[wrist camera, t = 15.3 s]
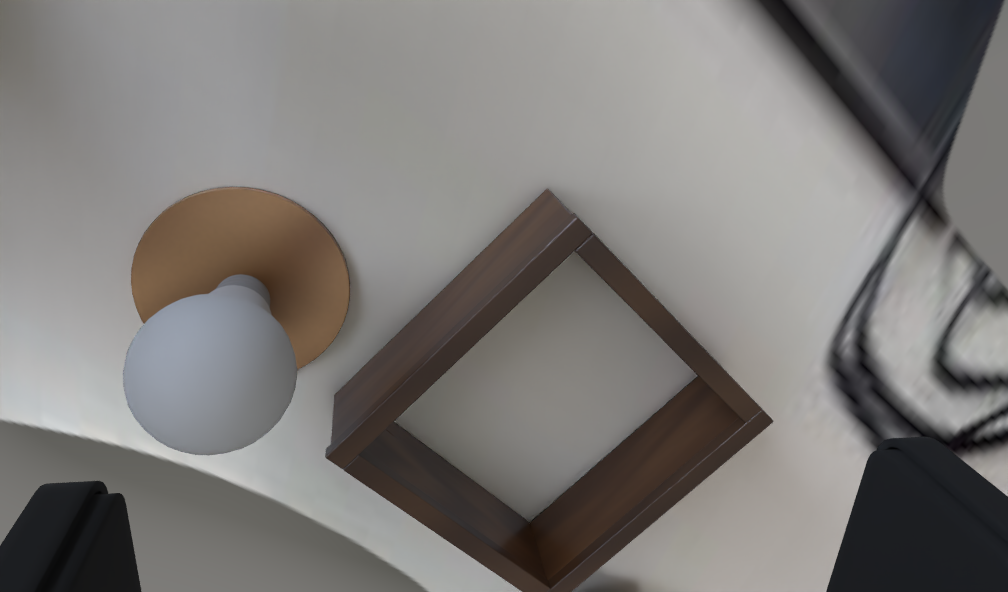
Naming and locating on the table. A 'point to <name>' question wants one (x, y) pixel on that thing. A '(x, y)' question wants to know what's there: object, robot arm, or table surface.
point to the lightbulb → (211, 370)
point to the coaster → (247, 261)
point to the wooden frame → (597, 495)
